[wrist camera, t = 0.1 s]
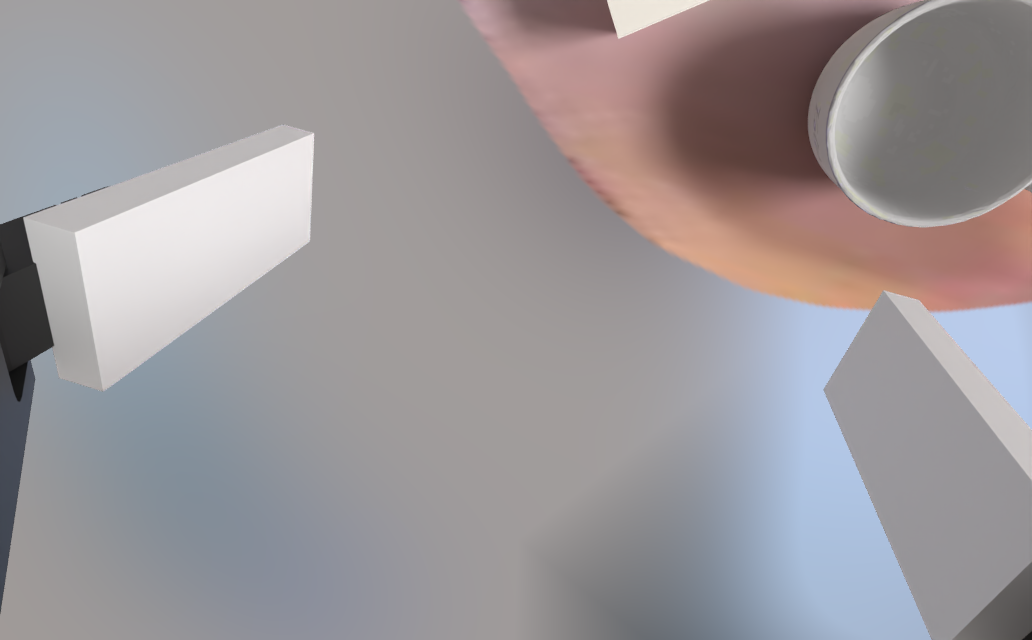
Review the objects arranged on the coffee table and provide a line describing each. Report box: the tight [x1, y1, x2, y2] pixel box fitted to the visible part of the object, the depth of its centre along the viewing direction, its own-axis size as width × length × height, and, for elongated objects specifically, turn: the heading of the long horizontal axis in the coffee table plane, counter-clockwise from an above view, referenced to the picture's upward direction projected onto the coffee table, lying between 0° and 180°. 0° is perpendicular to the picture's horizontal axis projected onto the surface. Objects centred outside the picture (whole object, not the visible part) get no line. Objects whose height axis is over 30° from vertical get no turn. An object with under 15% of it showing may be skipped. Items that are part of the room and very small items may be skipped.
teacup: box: [808, 0, 1032, 227], centre depth 32 cm, size 14×11×8 cm
